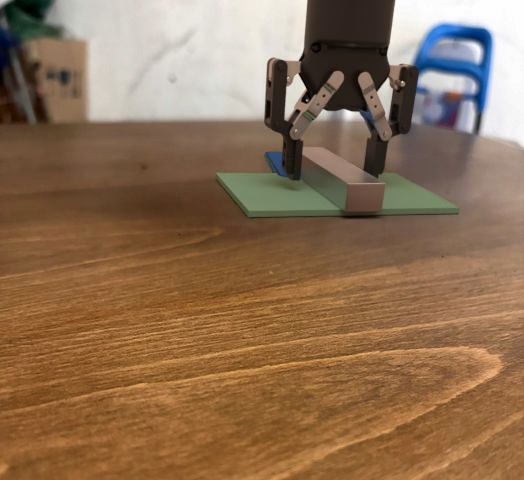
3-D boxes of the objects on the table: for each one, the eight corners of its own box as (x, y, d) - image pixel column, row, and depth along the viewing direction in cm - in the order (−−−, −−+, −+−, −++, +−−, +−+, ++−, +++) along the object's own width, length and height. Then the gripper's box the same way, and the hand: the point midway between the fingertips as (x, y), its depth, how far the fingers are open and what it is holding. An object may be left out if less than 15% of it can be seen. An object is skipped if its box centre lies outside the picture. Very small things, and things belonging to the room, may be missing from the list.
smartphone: (322, 153, 82) (349, 178, 69) (322, 161, 83) (348, 188, 69) (263, 151, 81) (278, 176, 68) (263, 159, 82) (277, 186, 68)
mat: (394, 178, 73) (394, 172, 73) (458, 213, 61) (459, 207, 61) (215, 178, 68) (215, 172, 68) (248, 217, 56) (248, 210, 56)
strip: (289, 170, 71) (291, 146, 70) (320, 170, 72) (323, 147, 71) (344, 212, 57) (348, 183, 56) (382, 211, 58) (386, 183, 57)
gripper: (284, -23, 52) (271, 189, 59) (449, -10, 55) (417, 188, 63) (260, -21, 58) (250, 170, 66) (409, -9, 62) (384, 170, 69)
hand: (332, 178), depth 64 cm, fingers open, 7 cm apart
